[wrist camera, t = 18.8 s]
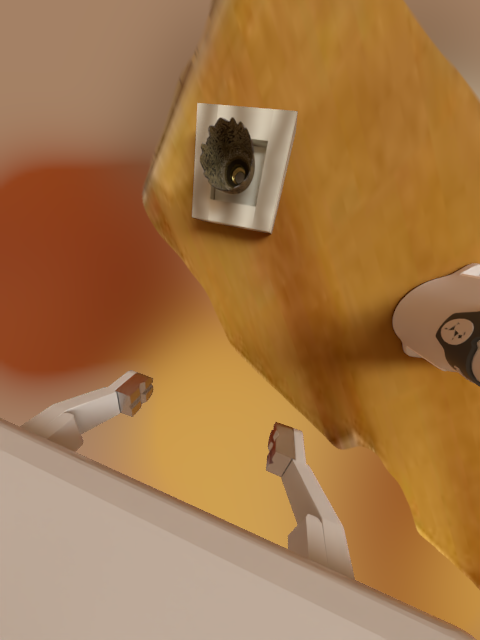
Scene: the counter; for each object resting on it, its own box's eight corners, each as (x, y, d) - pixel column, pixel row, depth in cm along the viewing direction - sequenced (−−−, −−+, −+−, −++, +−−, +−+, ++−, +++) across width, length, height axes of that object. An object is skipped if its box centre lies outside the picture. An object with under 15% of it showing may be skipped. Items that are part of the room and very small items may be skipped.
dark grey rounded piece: (242, 213, 31) (229, 203, 24) (212, 183, 31) (189, 164, 24) (270, 171, 28) (265, 146, 21) (237, 138, 27) (220, 99, 20)
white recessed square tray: (295, 133, 28) (297, 111, 23) (271, 234, 34) (269, 231, 30) (210, 124, 30) (197, 103, 25) (203, 220, 36) (191, 217, 32)
